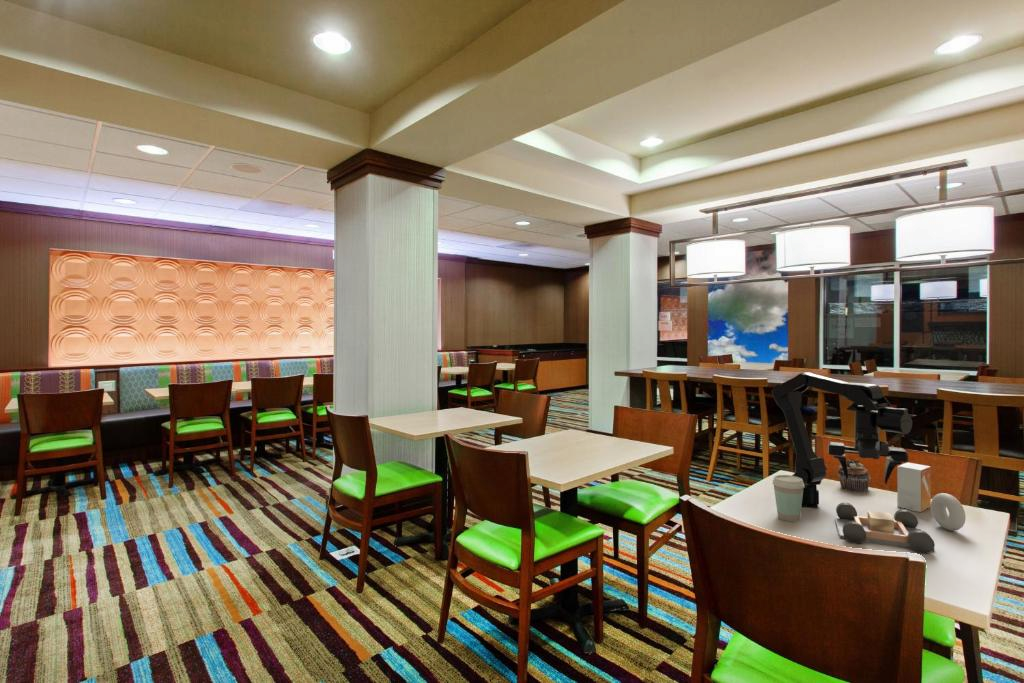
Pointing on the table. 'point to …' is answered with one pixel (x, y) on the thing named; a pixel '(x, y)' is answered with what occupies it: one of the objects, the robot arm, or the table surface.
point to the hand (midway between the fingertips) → (865, 480)
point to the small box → (914, 486)
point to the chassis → (903, 532)
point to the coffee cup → (788, 496)
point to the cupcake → (854, 477)
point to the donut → (954, 508)
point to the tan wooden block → (880, 522)
